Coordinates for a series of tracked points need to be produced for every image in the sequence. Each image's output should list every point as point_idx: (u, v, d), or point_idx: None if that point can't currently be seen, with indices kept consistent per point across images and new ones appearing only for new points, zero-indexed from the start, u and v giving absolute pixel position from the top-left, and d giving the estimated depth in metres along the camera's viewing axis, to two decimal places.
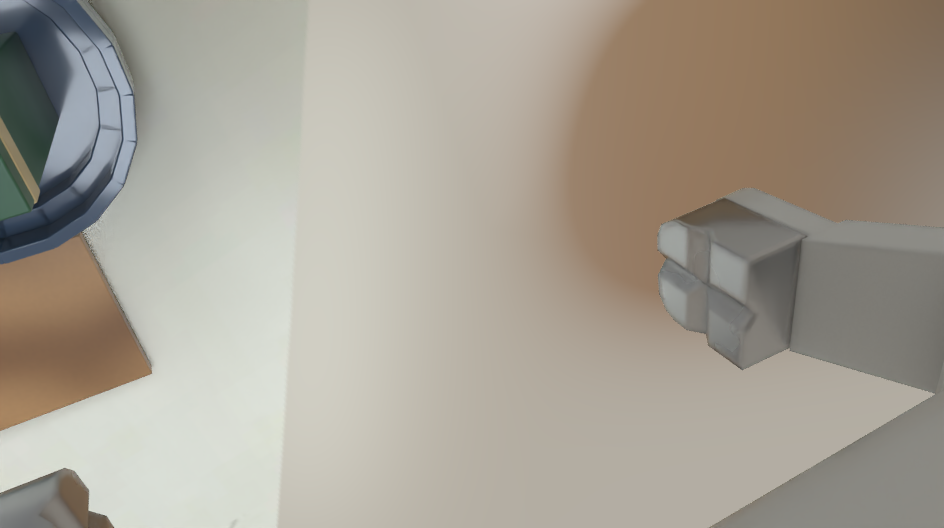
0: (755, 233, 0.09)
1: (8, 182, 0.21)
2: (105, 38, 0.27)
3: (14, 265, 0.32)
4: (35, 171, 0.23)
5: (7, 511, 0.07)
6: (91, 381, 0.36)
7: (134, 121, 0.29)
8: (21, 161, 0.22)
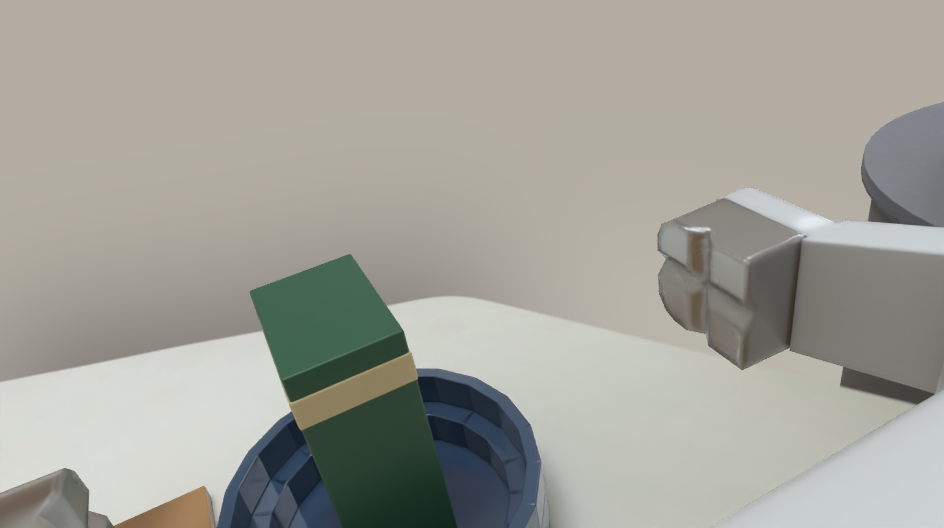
0: (754, 233, 0.09)
1: (314, 363, 0.21)
2: None
3: None
4: (322, 443, 0.22)
5: (7, 511, 0.07)
6: None
7: None
8: (334, 406, 0.21)
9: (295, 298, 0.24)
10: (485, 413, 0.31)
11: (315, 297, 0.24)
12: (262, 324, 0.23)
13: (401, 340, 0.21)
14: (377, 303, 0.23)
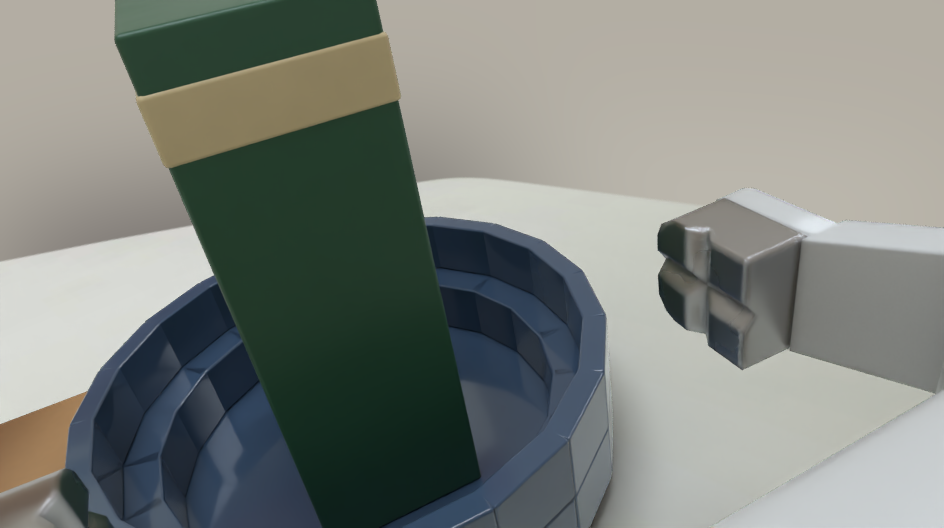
0: (754, 233, 0.09)
1: (188, 16, 0.10)
2: (504, 494, 0.12)
3: None
4: (214, 207, 0.11)
5: (7, 511, 0.07)
6: None
7: None
8: (234, 123, 0.11)
9: None
10: (508, 274, 0.21)
11: None
12: (116, 10, 0.12)
13: None
14: None
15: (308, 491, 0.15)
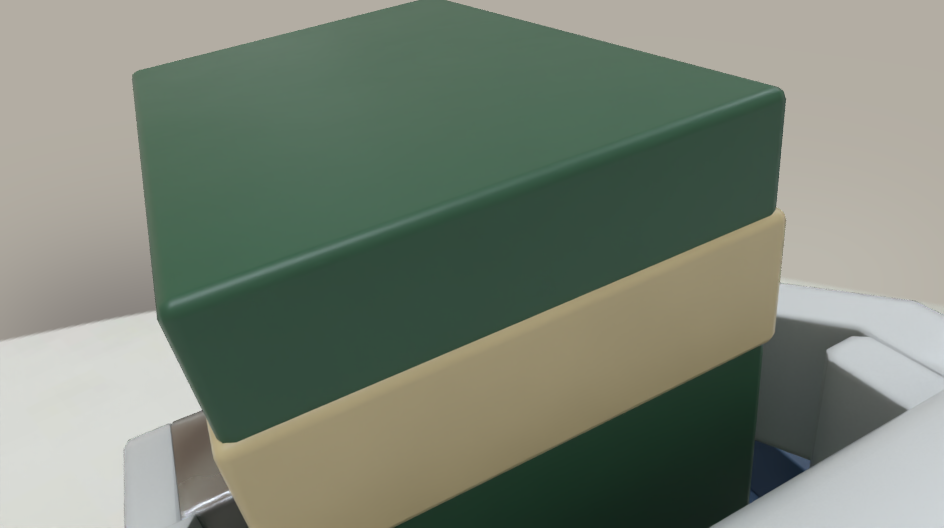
0: None
1: (361, 222, 0.04)
2: None
3: None
4: None
5: None
6: None
7: None
8: (447, 457, 0.04)
9: (271, 67, 0.07)
10: None
11: (342, 59, 0.07)
12: (140, 127, 0.06)
13: (770, 142, 0.04)
14: (589, 44, 0.06)
15: None
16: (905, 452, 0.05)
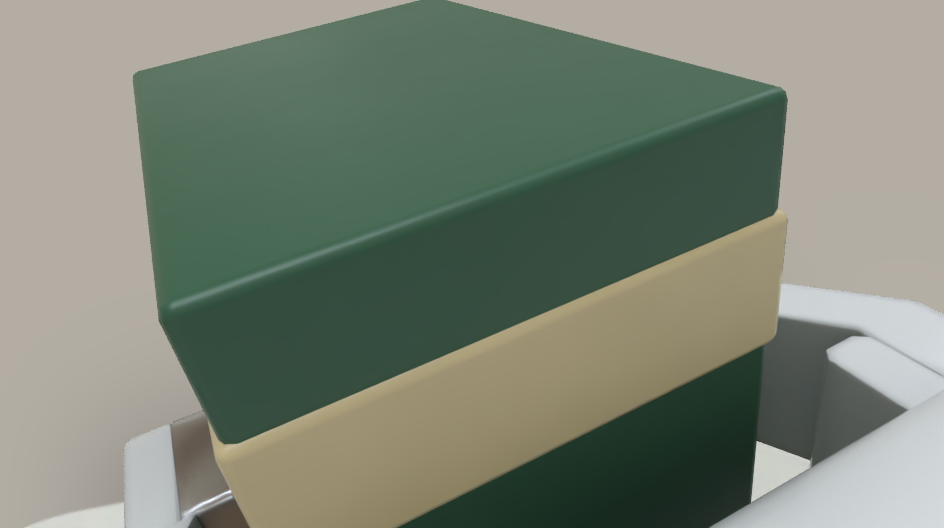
0: None
1: (362, 224, 0.04)
2: None
3: None
4: None
5: None
6: None
7: None
8: (448, 458, 0.04)
9: (272, 69, 0.07)
10: None
11: (342, 60, 0.07)
12: (141, 129, 0.06)
13: (772, 142, 0.04)
14: (590, 45, 0.06)
15: None
16: (906, 452, 0.05)
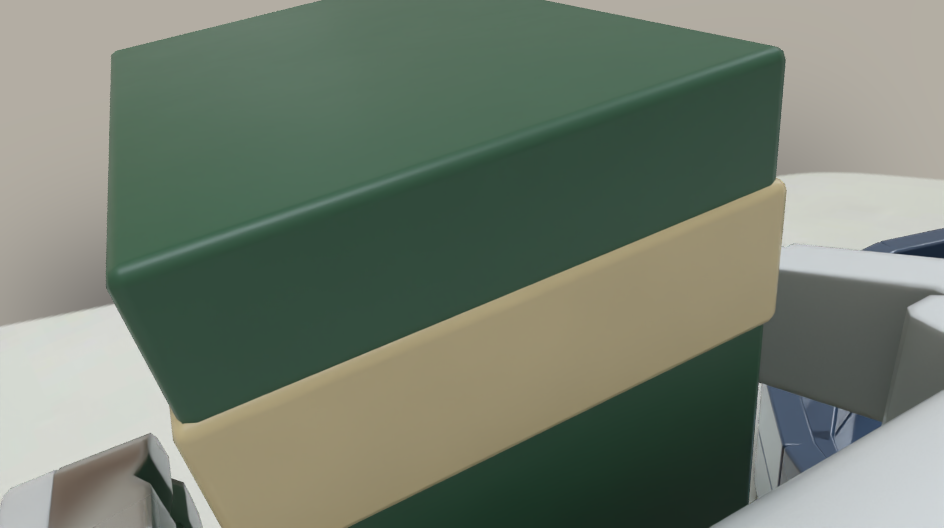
0: None
1: (329, 186, 0.03)
2: None
3: None
4: None
5: (101, 472, 0.07)
6: None
7: None
8: (427, 441, 0.04)
9: (252, 44, 0.07)
10: None
11: (325, 34, 0.07)
12: (112, 103, 0.06)
13: (769, 105, 0.04)
14: (580, 13, 0.06)
15: None
16: (905, 452, 0.05)
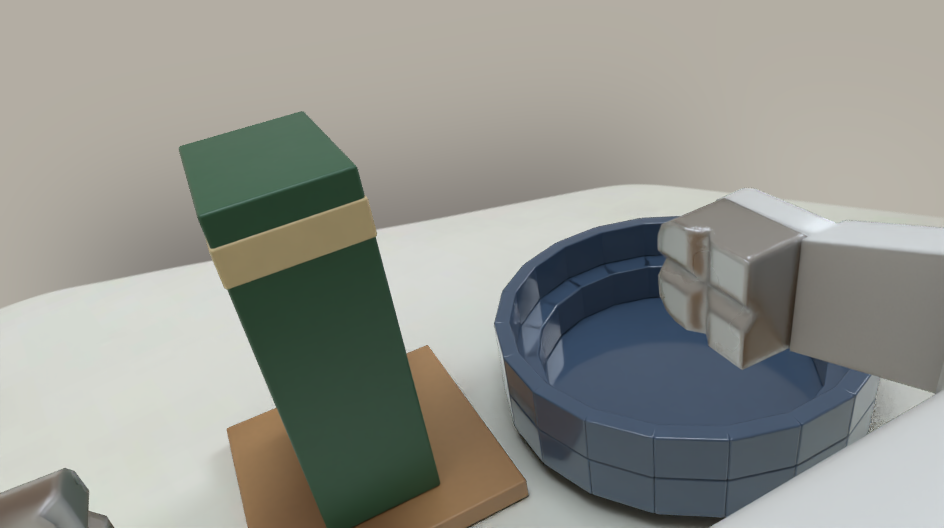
0: (754, 233, 0.09)
1: (242, 199, 0.16)
2: (858, 387, 0.20)
3: (474, 429, 0.25)
4: (255, 310, 0.17)
5: (7, 511, 0.07)
6: None
7: (760, 432, 0.19)
8: (269, 260, 0.17)
9: (230, 148, 0.20)
10: None
11: (254, 146, 0.19)
12: (186, 172, 0.19)
13: (354, 179, 0.17)
14: (328, 146, 0.18)
15: (314, 495, 0.21)
16: (905, 452, 0.05)
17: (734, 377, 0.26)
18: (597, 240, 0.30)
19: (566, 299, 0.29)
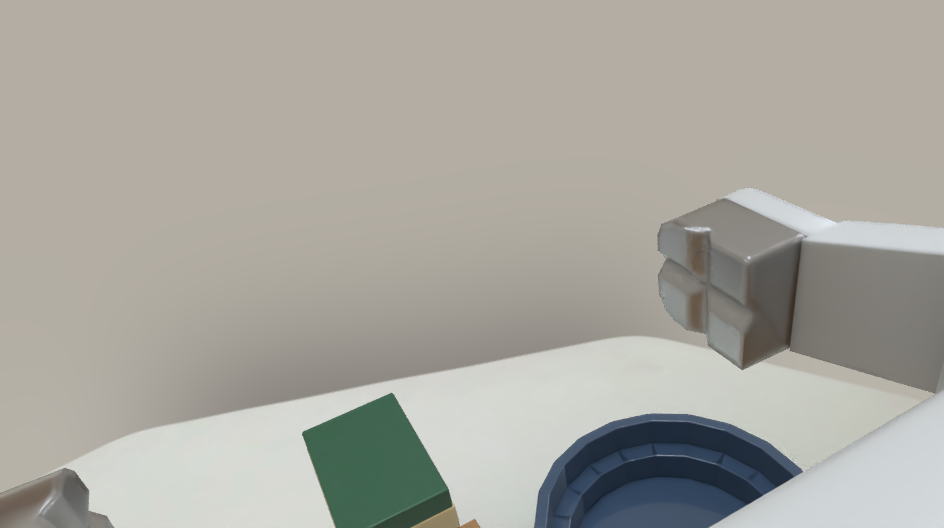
0: (755, 233, 0.09)
1: (370, 523, 0.23)
2: None
3: None
4: None
5: (7, 511, 0.07)
6: None
7: None
8: None
9: (345, 444, 0.26)
10: (740, 456, 0.35)
11: (364, 444, 0.26)
12: (317, 473, 0.25)
13: (446, 497, 0.24)
14: (422, 455, 0.25)
15: None
16: (906, 452, 0.05)
17: None
18: (613, 434, 0.36)
19: (589, 488, 0.35)
